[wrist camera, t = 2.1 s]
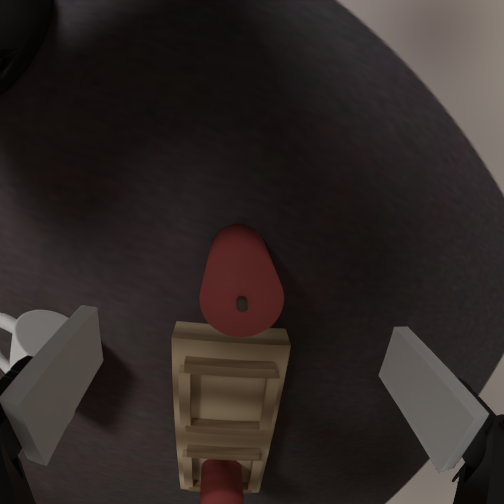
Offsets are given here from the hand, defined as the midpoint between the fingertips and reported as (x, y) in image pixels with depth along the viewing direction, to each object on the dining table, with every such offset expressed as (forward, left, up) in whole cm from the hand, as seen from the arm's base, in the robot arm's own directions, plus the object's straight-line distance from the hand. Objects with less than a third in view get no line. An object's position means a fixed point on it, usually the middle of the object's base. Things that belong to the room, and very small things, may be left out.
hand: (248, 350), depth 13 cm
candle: (0, 0, -15) cm, 15 cm away
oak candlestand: (+19, 0, -15) cm, 24 cm away
